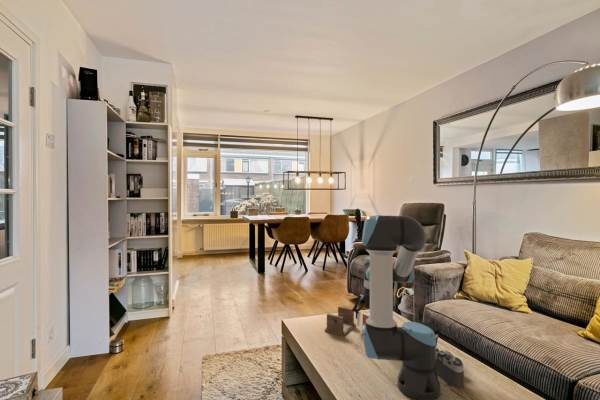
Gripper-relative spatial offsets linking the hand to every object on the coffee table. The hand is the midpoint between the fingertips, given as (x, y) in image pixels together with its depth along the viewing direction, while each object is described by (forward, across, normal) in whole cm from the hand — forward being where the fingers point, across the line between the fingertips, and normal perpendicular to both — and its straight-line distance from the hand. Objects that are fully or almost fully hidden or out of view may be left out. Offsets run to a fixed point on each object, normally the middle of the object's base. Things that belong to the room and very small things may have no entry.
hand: (371, 328), depth 165 cm
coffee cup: (+4, -28, +3) cm, 28 cm away
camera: (+4, -40, +18) cm, 44 cm away
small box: (+4, 0, 0) cm, 4 cm away
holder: (+4, +17, +1) cm, 17 cm away
